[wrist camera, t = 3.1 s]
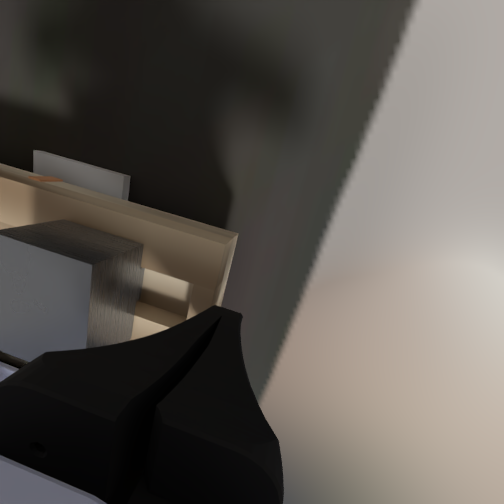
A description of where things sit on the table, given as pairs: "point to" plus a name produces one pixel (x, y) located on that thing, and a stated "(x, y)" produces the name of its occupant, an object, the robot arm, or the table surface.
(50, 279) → the block
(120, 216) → the tan slotted track
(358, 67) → the table surface
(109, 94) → the table surface
